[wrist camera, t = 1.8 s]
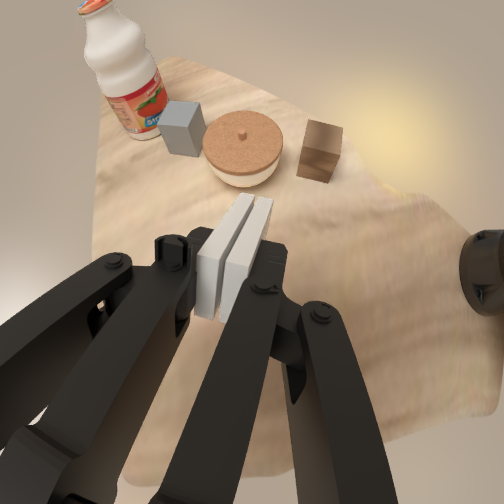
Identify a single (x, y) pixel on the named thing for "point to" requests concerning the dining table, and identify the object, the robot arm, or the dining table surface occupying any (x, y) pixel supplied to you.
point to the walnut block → (320, 151)
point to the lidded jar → (243, 147)
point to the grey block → (182, 128)
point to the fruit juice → (124, 68)
